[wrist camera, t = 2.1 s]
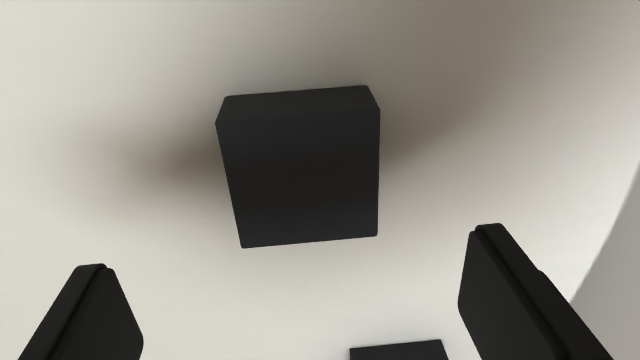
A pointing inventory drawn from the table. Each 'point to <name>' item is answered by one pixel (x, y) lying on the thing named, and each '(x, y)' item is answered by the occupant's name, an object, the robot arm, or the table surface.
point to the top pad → (402, 352)
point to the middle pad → (302, 164)
